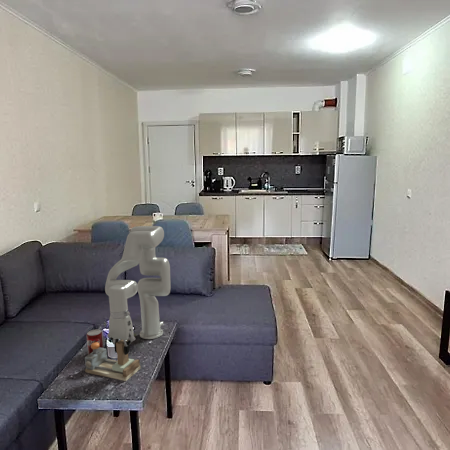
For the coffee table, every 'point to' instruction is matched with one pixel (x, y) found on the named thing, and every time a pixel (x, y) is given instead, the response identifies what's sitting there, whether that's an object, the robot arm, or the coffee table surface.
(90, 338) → the soda can
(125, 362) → the carriage
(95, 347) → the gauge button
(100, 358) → the rail bed
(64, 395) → the coffee table surface
